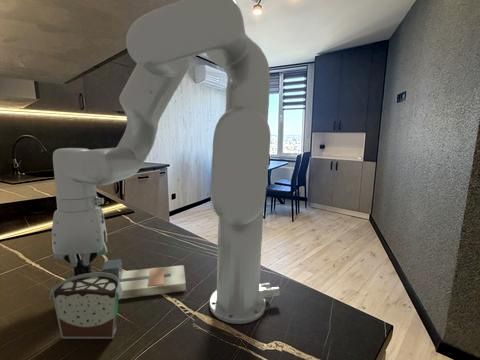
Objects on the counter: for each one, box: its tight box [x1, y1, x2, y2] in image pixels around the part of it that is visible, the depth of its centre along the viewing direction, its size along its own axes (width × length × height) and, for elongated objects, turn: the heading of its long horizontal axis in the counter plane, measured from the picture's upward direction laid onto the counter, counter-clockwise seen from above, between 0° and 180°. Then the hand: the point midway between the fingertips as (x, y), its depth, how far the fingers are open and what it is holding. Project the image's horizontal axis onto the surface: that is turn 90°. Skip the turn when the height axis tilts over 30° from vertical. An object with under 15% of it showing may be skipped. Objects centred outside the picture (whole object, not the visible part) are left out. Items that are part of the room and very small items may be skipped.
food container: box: [48, 271, 122, 340], centre depth 49 cm, size 12×6×10 cm, turn 92°
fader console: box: [118, 265, 187, 300], centre depth 63 cm, size 22×9×2 cm, turn 105°
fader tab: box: [101, 258, 123, 281], centre depth 61 cm, size 4×4×4 cm
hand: (83, 279), depth 59 cm, fingers closed
